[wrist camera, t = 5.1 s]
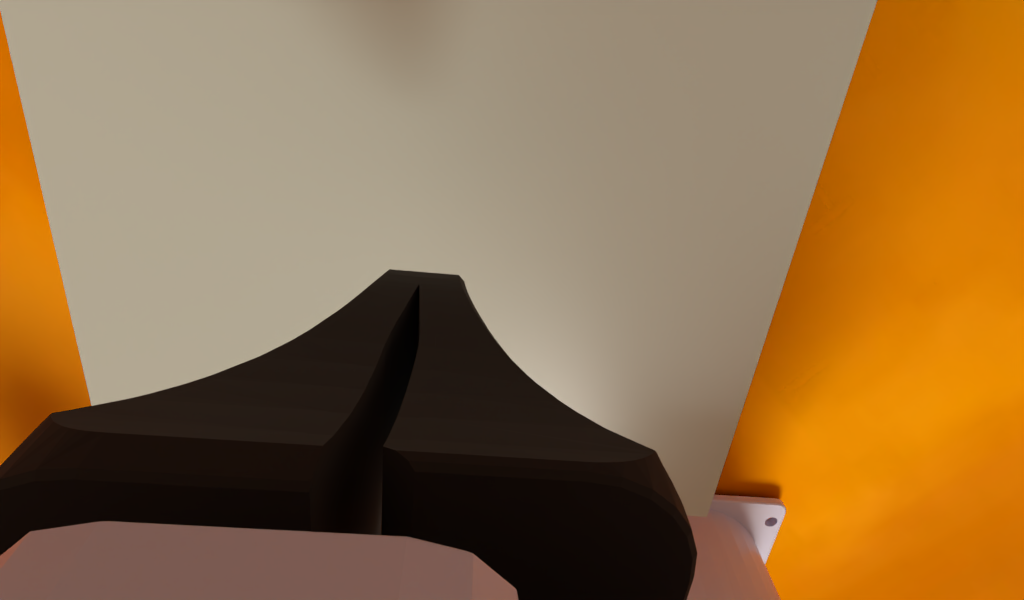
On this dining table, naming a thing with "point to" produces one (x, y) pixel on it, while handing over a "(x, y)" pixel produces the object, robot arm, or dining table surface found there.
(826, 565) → the dining table surface
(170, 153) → the box lid
